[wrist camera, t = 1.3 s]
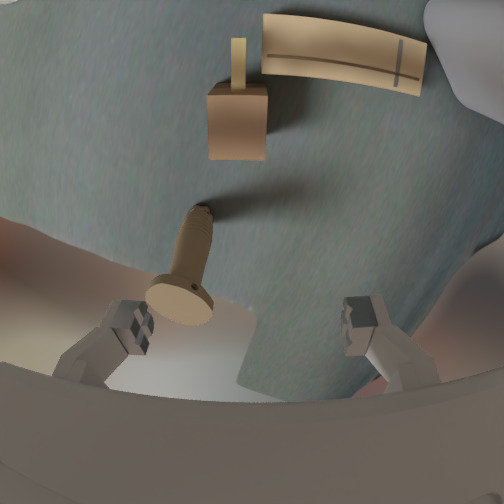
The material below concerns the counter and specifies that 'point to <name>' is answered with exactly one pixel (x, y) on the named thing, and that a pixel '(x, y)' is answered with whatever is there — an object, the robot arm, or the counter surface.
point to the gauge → (237, 113)
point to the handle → (186, 273)
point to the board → (341, 53)
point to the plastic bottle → (470, 50)
